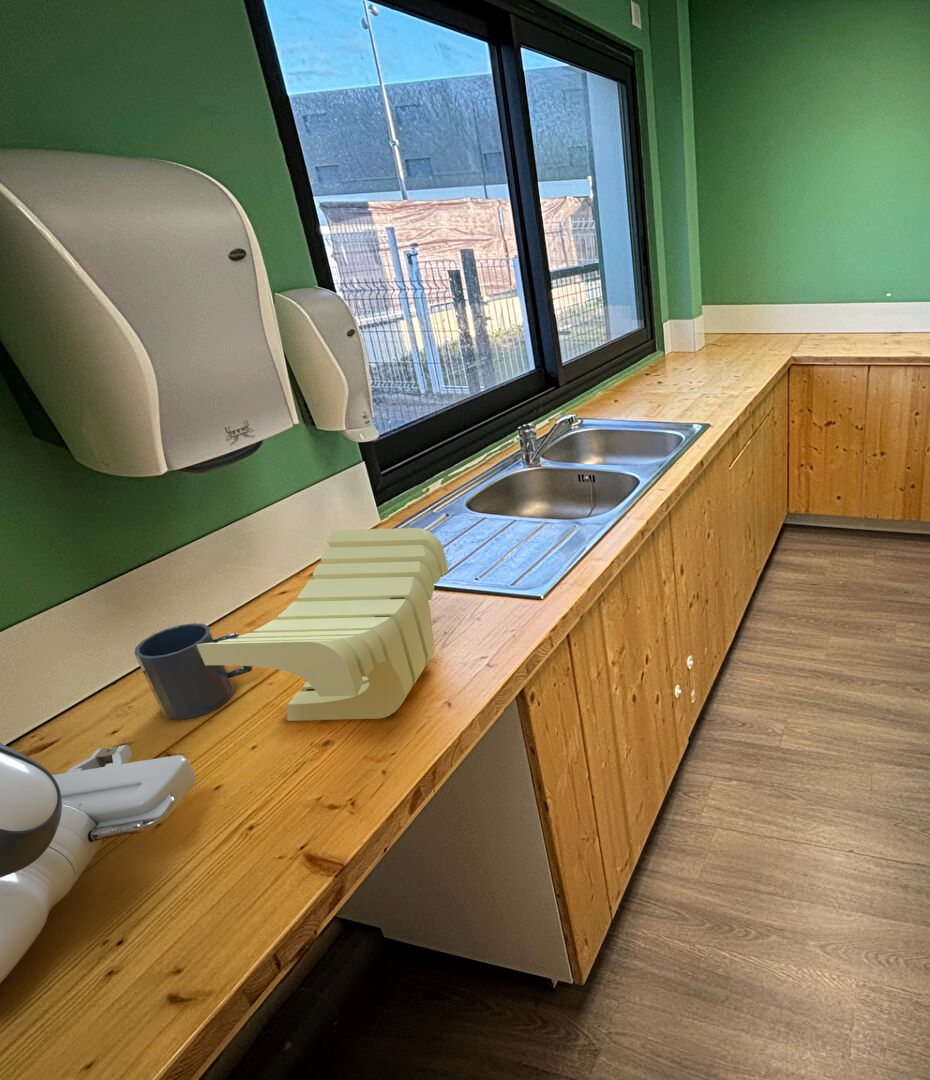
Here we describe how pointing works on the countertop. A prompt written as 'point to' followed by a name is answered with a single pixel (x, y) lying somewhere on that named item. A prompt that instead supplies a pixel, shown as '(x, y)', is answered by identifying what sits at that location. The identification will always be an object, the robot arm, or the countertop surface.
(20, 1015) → the countertop surface
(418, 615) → the slatted lounge chair
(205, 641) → the mug
